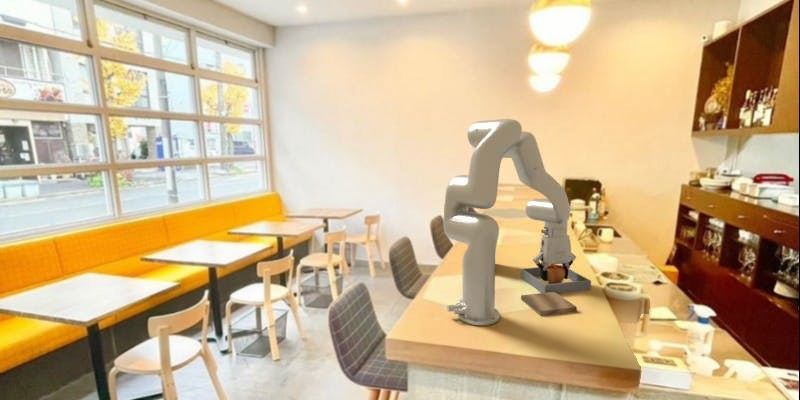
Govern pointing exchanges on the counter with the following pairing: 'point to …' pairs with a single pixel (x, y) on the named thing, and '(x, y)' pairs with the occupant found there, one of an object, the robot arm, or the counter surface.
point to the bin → (576, 286)
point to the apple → (555, 274)
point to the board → (548, 303)
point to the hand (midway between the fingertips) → (554, 278)
